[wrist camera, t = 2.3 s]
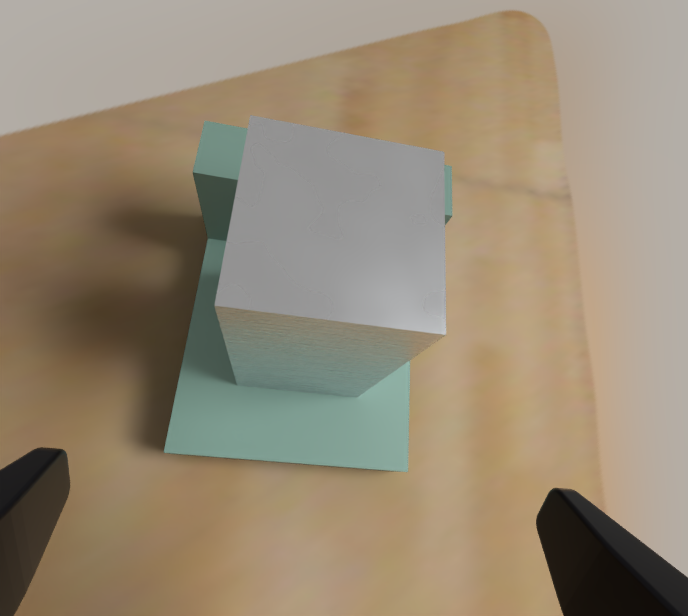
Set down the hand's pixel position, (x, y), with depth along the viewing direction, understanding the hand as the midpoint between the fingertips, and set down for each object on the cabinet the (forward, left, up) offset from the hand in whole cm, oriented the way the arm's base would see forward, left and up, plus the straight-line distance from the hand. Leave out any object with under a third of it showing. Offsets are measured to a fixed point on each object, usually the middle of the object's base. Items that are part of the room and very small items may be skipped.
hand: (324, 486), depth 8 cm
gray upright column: (+5, -3, -10) cm, 12 cm away
